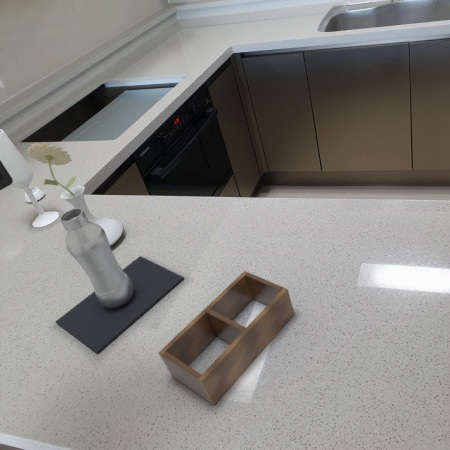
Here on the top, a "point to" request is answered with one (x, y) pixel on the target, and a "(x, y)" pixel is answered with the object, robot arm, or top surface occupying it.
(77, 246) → the plastic bottle
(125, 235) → the top surface
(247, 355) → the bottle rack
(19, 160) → the champagne flute
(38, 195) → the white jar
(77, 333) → the mat
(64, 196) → the flower in vase
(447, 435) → the top surface
